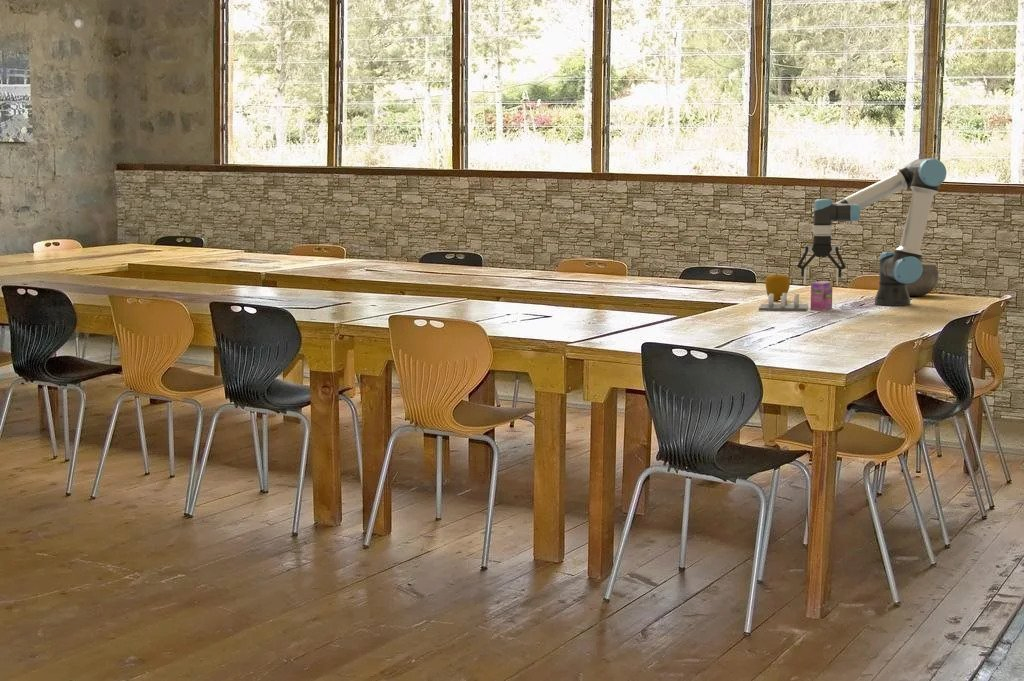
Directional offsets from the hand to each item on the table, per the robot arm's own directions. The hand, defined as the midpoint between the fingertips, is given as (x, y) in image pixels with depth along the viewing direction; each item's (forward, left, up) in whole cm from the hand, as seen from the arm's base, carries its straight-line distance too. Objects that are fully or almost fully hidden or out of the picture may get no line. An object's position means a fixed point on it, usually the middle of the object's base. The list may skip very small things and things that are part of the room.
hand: (820, 284), depth 546 cm
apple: (+21, -38, -11) cm, 45 cm away
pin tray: (+16, 0, -11) cm, 19 cm away
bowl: (-41, -64, -11) cm, 77 cm away
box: (0, 0, -11) cm, 11 cm away
